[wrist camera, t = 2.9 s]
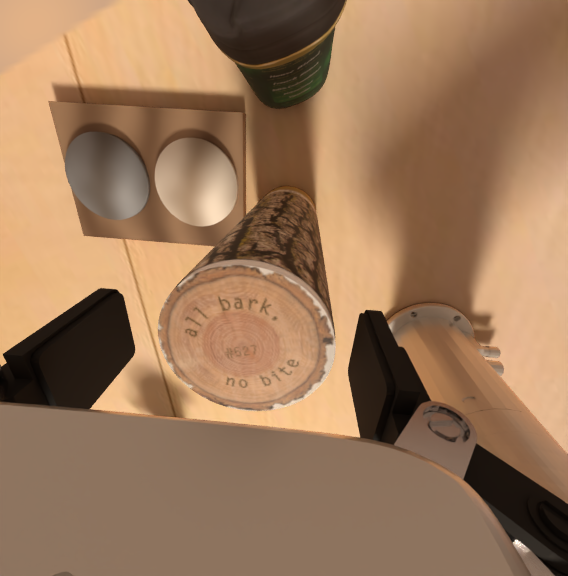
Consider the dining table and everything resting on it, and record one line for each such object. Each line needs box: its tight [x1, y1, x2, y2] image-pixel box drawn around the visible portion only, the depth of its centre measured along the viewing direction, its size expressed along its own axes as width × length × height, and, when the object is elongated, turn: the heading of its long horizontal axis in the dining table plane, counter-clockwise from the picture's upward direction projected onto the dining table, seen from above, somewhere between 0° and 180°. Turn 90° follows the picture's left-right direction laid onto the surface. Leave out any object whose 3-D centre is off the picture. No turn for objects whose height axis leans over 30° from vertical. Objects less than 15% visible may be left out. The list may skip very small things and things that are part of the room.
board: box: [48, 101, 246, 246], centre depth 31 cm, size 20×14×2 cm
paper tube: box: [158, 186, 336, 411], centre depth 22 cm, size 7×7×25 cm
